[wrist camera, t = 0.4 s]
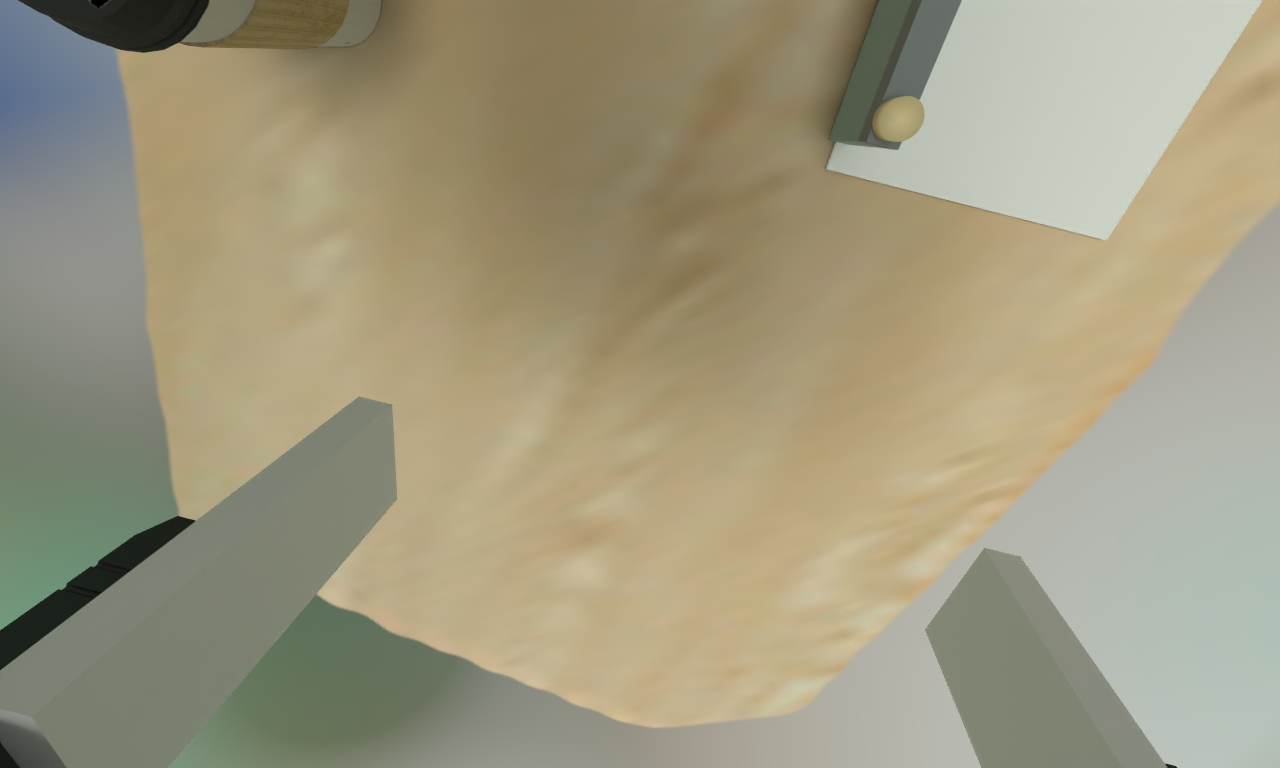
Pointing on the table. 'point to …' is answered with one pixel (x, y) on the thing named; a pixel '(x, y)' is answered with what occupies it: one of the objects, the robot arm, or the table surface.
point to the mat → (1056, 105)
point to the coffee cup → (215, 22)
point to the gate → (893, 73)
